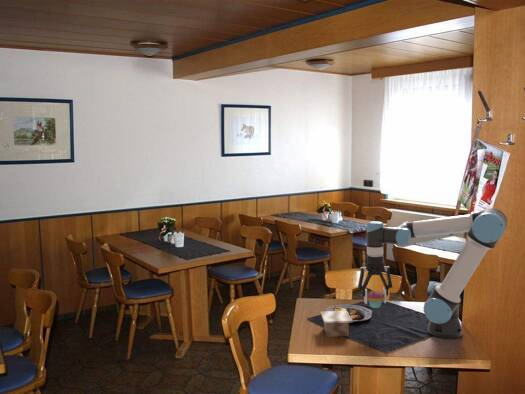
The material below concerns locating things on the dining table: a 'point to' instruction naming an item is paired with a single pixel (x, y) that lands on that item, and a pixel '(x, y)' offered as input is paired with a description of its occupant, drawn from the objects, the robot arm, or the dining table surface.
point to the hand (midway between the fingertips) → (375, 302)
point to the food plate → (353, 311)
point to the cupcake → (375, 298)
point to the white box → (336, 323)
